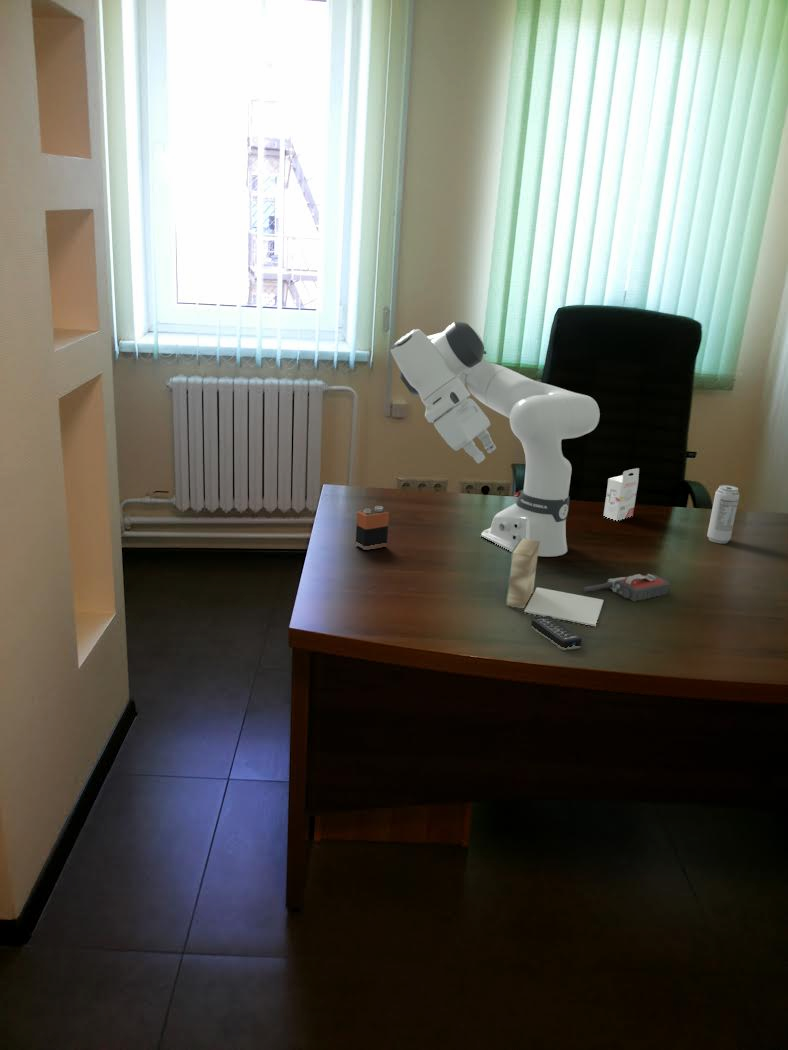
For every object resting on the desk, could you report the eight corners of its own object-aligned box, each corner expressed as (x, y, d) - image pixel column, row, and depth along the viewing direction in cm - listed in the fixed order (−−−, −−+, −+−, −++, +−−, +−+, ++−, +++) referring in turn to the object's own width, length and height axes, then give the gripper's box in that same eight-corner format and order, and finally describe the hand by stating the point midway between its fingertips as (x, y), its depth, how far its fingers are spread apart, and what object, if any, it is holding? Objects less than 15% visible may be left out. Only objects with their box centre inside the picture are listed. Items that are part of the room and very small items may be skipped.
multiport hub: (548, 625, 167) (549, 615, 166) (581, 649, 157) (583, 638, 157) (529, 628, 165) (531, 617, 164) (562, 652, 156) (564, 641, 155)
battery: (387, 547, 203) (390, 508, 200) (364, 552, 199) (366, 512, 196) (377, 542, 206) (379, 503, 203) (354, 546, 202) (356, 507, 199)
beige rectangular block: (505, 605, 174) (511, 552, 170) (515, 589, 183) (521, 538, 179) (523, 609, 173) (530, 555, 169) (532, 592, 182) (539, 541, 178)
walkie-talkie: (644, 580, 194) (580, 593, 184) (647, 563, 193) (582, 575, 183) (673, 594, 187) (608, 608, 177) (676, 576, 185) (611, 589, 176)
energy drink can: (726, 537, 228) (736, 485, 223) (732, 545, 222) (743, 491, 218) (703, 535, 229) (714, 483, 224) (709, 543, 223) (720, 489, 218)
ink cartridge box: (618, 512, 245) (626, 464, 240) (633, 516, 242) (641, 467, 237) (601, 517, 239) (609, 467, 235) (616, 521, 236) (624, 471, 231)
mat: (524, 613, 171) (524, 610, 171) (536, 589, 183) (537, 587, 183) (595, 627, 166) (595, 624, 166) (603, 602, 179) (603, 599, 179)
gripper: (450, 401, 180) (487, 453, 181) (421, 418, 162) (463, 475, 163) (473, 384, 178) (510, 437, 178) (446, 399, 159) (488, 458, 160)
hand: (487, 456), depth 170 cm, fingers open, 8 cm apart
